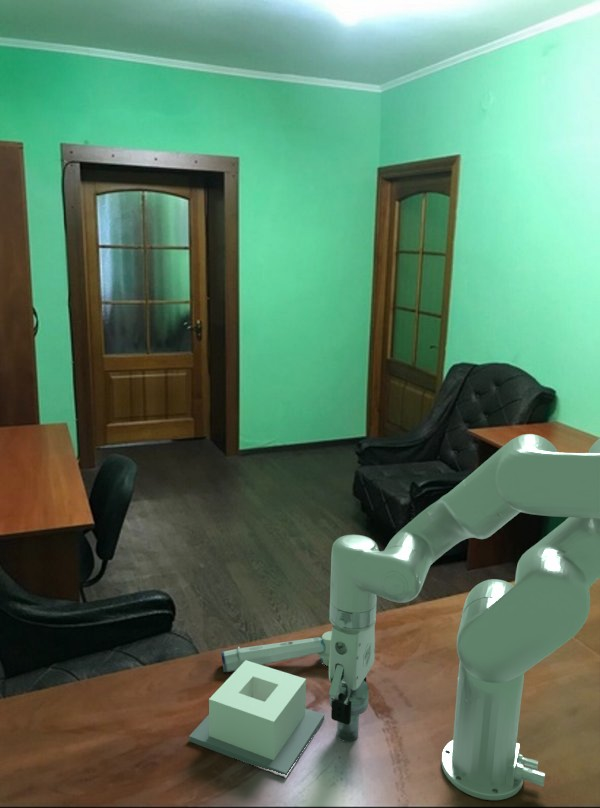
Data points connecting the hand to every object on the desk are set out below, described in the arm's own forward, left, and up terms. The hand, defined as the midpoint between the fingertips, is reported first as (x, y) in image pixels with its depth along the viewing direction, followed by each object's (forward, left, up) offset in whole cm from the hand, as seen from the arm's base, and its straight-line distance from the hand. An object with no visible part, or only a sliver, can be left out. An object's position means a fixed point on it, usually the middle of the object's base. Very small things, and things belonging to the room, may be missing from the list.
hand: (348, 707), depth 110 cm
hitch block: (+14, +6, -5) cm, 16 cm away
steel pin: (0, 0, -5) cm, 5 cm away
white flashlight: (+18, -13, -6) cm, 23 cm away
